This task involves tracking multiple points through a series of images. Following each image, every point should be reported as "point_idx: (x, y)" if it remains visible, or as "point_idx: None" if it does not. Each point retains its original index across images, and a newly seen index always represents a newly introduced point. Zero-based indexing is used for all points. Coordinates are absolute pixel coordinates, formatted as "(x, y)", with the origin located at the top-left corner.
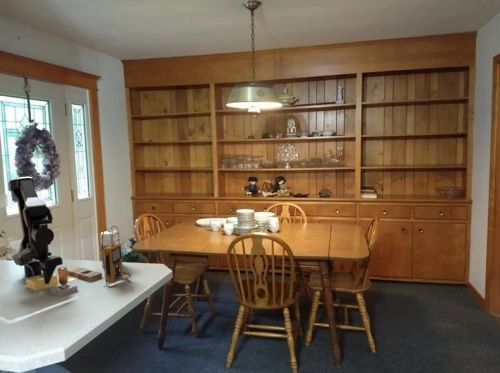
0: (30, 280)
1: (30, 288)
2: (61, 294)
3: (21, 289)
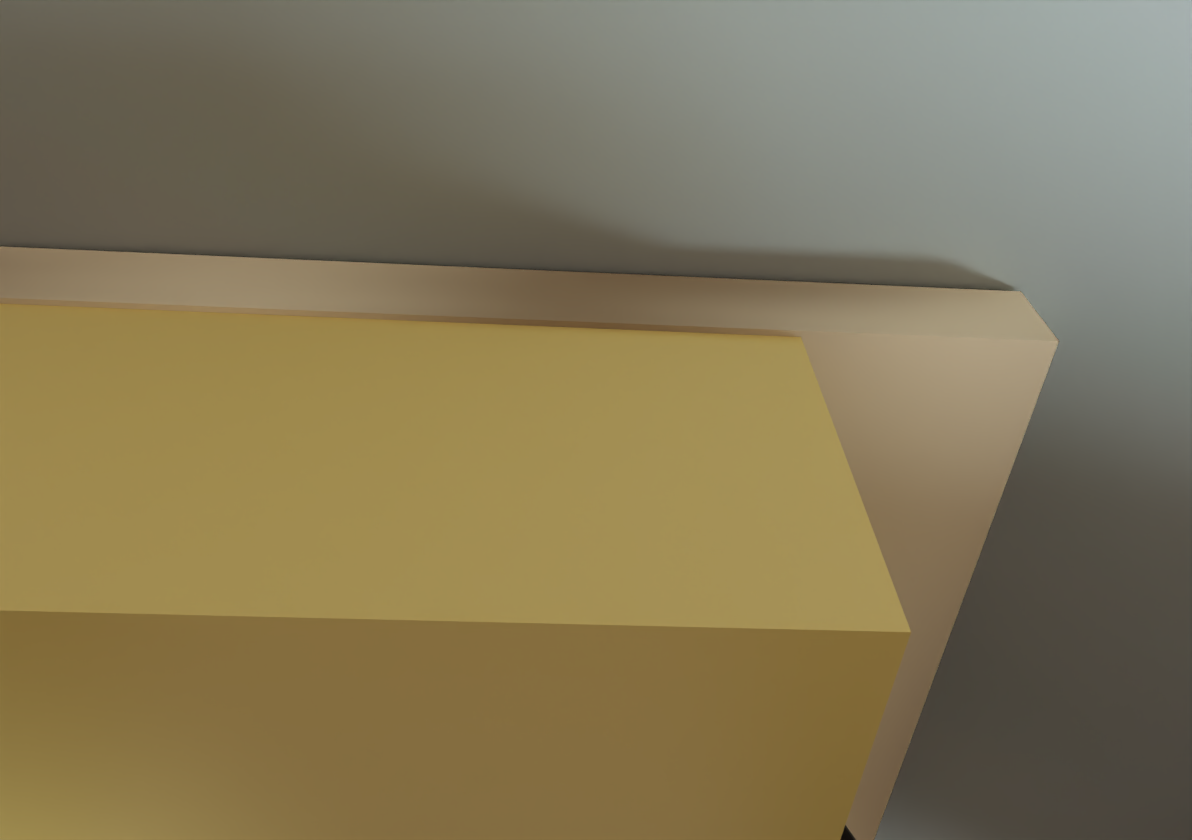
0: (303, 611)
1: (450, 318)
2: None
3: (1007, 168)
